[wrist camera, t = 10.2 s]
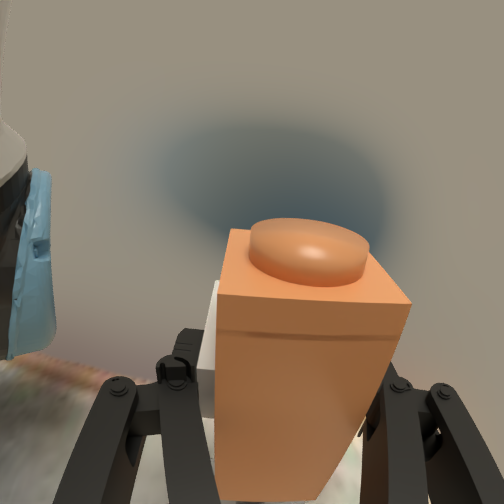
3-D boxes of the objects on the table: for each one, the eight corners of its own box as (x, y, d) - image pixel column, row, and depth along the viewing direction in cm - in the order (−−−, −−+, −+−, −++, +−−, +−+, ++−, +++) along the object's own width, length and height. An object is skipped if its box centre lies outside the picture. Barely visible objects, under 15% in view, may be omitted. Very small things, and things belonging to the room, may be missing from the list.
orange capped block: (215, 499, 12) (218, 261, 7) (221, 427, 16) (232, 208, 12) (315, 500, 12) (420, 276, 7) (305, 430, 16) (361, 220, 12)
